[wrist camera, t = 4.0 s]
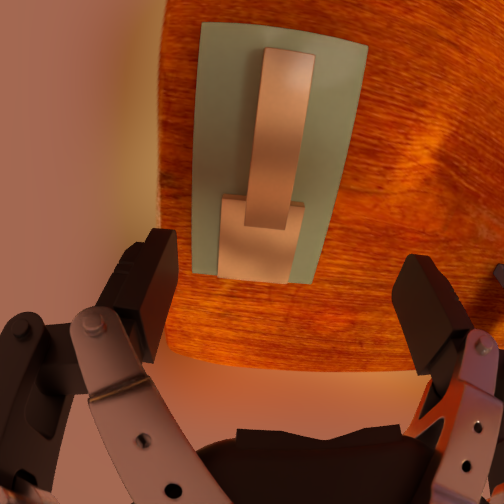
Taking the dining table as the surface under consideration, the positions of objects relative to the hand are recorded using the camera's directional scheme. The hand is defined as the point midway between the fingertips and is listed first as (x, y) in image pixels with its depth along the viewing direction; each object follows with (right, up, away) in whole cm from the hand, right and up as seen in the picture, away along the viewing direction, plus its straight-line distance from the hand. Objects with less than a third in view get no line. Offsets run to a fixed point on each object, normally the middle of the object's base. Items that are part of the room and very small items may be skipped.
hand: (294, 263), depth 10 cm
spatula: (0, +5, +10) cm, 11 cm away
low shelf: (0, +7, +12) cm, 14 cm away
